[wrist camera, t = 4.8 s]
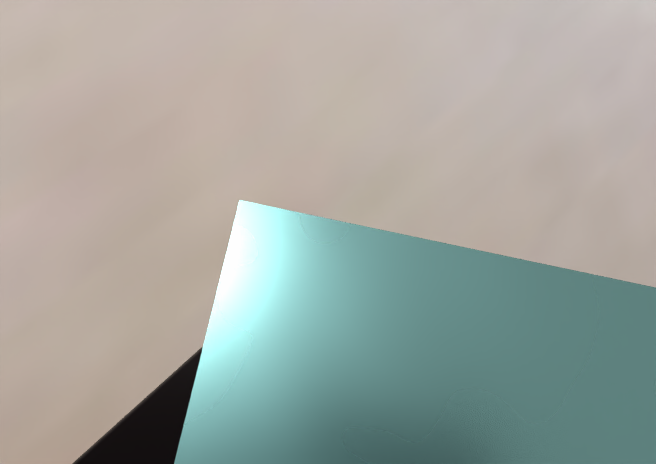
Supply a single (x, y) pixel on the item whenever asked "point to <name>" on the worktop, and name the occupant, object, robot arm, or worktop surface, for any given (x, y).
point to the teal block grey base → (415, 354)
